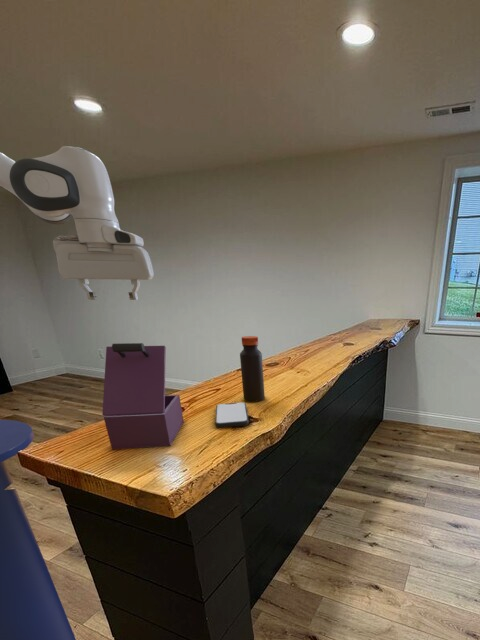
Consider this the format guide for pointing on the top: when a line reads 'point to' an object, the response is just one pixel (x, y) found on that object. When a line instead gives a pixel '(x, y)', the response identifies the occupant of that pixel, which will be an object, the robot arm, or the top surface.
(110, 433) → the purple box
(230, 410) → the smartphone
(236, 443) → the top surface
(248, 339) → the bottle
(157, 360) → the lid
